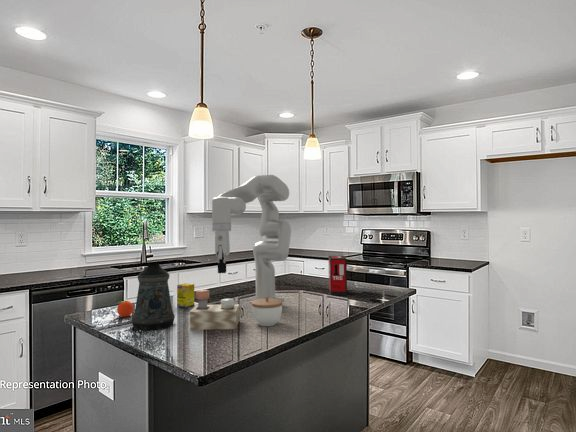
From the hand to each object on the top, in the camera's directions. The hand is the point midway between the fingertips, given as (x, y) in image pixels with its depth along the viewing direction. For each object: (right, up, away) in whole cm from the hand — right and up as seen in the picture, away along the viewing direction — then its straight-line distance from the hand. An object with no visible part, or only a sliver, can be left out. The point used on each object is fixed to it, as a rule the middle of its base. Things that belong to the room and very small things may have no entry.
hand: (222, 272), depth 162 cm
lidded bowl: (+18, -21, +2) cm, 28 cm away
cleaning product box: (+55, -21, +66) cm, 89 cm away
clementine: (-46, -22, +15) cm, 53 cm away
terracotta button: (-8, -16, 0) cm, 18 cm away
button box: (-3, -21, 0) cm, 21 cm away
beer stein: (-29, -22, +2) cm, 36 cm away
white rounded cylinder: (+2, -20, 0) cm, 20 cm away
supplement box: (-23, -22, +34) cm, 46 cm away
